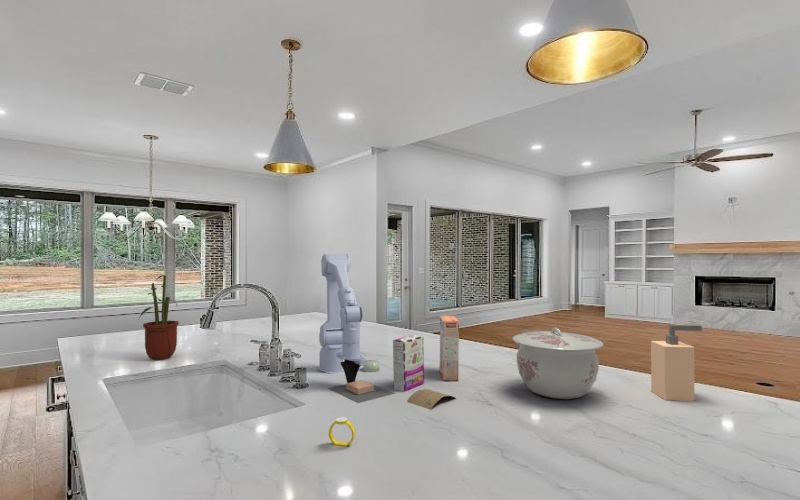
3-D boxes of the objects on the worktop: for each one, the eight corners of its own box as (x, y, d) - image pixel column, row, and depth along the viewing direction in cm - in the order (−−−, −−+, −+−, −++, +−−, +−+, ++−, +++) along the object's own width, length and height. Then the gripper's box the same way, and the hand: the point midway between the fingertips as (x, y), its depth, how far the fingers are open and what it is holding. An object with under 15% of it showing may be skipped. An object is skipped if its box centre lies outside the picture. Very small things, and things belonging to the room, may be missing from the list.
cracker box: (459, 381, 150) (459, 320, 151) (442, 381, 151) (442, 320, 151) (455, 370, 164) (455, 315, 165) (439, 370, 165) (439, 315, 165)
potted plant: (185, 357, 185) (185, 274, 185) (147, 365, 172) (147, 276, 172) (162, 352, 194) (162, 273, 194) (124, 359, 181) (125, 275, 181)
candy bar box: (412, 381, 150) (412, 334, 150) (424, 384, 147) (424, 335, 147) (392, 389, 141) (392, 339, 141) (404, 392, 138) (404, 341, 138)
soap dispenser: (665, 400, 131) (664, 327, 131) (650, 391, 140) (650, 322, 140) (709, 401, 130) (709, 327, 130) (692, 392, 139) (692, 323, 139)
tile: (346, 383, 140) (358, 388, 135) (361, 380, 144) (373, 385, 139) (346, 389, 140) (358, 395, 135) (361, 385, 144) (373, 391, 139)
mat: (327, 389, 142) (327, 388, 142) (362, 381, 151) (362, 380, 151) (358, 404, 128) (358, 403, 128) (395, 394, 137) (395, 393, 137)
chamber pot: (575, 415, 119) (574, 339, 119) (494, 390, 140) (494, 326, 141) (621, 394, 137) (620, 328, 137) (543, 375, 158) (543, 318, 158)
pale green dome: (360, 370, 164) (360, 361, 164) (373, 368, 168) (373, 359, 168) (369, 374, 160) (369, 364, 160) (382, 371, 163) (382, 362, 163)
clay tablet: (430, 412, 123) (430, 403, 123) (403, 404, 129) (402, 395, 129) (458, 399, 133) (458, 391, 134) (432, 392, 140) (432, 384, 140)
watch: (328, 447, 100) (326, 421, 100) (332, 442, 103) (330, 416, 103) (353, 447, 99) (351, 421, 99) (356, 442, 102) (354, 416, 102)
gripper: (329, 340, 147) (329, 380, 147) (352, 347, 136) (352, 391, 135) (347, 337, 151) (346, 376, 151) (371, 344, 140) (371, 386, 140)
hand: (350, 383), depth 144 cm, fingers closed
